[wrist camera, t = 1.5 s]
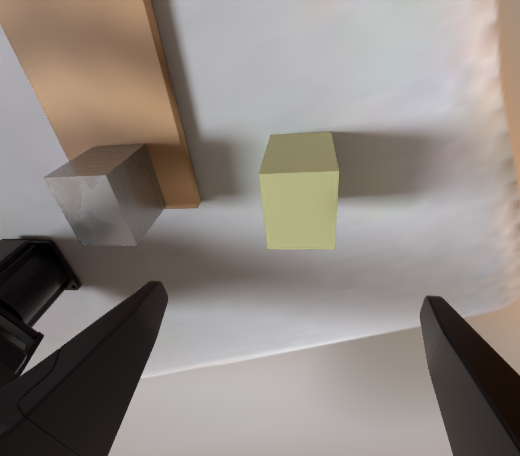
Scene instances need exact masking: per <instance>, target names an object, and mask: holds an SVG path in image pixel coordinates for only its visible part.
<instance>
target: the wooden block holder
mask: <svg viewBox="0 0 520 456" xmlns="http://www.w3.org/2000/svg"><path fill="white" fill-rule="evenodd" d="M0 24H1V26H2V28H3V30H4V32H5V34H6V36H7V38H8V40H9V42H10V44H11V46H12V48H13V50H14V52H15V54H16V56H17V58H18V60H19V62H20V64H21V66H22V68H23V70H24V72H25V74H26V76H27V78H28V80H29V82H30V84H31V86H32V88H33V90H34V92H35V94H36V96H37V98H38V100H39V102H40V104H41V106H42V108H43V110H44V112H45V114H46V116H47V118H48V120H49V122H50V124H51V126H52V128H53V130H54V132H55V134H56V136H57V138H58V140H59V142H60V144H61V146H62V148H63V150H64V152H65V154H66V156H67V158H68V160H69V161H71V160H73V159H74V158H76V157H77V156H79V155H81V154H82V153H84V152H85V151H87V150H89V149H90V148H92V147H93V146H108V145H125V144H142V143H146V146H147V149H148V152H149V155H150V158H151V161H152V164H153V167H154V170H155V173H156V176H157V179H158V182H159V185H160V188H161V191H162V194H163V197H164V200H165V203H166V207H165V208H164V209H183V208H198V207H199V205H200V203H201V199H200V195H199V191H198V187H197V183H196V179H195V175H194V171H193V167H192V163H191V159H190V155H189V151H188V147H187V143H186V139H185V135H184V131H183V127H182V123H181V119H180V115H179V111H178V107H177V103H176V99H175V95H174V91H173V87H172V83H171V79H170V75H169V71H168V67H167V63H166V59H165V55H164V51H163V47H162V43H161V39H160V35H159V31H158V27H157V23H156V19H155V15H154V11H153V7H152V3H151V0H0Z"/></svg>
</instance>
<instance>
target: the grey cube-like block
mask: <svg viewBox="0 0 520 456" xmlns="http://www.w3.org/2000/svg"><path fill="white" fill-rule="evenodd" d="M43 179H44V180H45V182H46V184H47V186H48V187H49V189H50V191H51V193H52V194H53V196H54V198H55V200H56V201H57V203H58V205H59V206H60V208H61V210H62V212H63V213H64V215H65V217H66V219H67V220H68V222H69V224H70V226H71V227H72V229H73V231H74V233H75V234H76V236H77V238H78V240H79V241H80V243H81V245H82V246H137V245H138V244H139V242H140V241H141V239H142V238H143V237H144V235H145V234H146V233H147V231H148V230H149V229H150V227H151V226H152V224H153V223H154V222H155V220H156V219H157V218H158V216H159V215H160V214H161V212H162V211H163V209H164V208H165V207H166V203H165V200H164V197H163V194H162V191H161V188H160V185H159V182H158V179H157V176H156V173H155V170H154V167H153V164H152V161H151V158H150V155H149V152H148V149H147V146H146V143H142V144H125V145H108V146H93V147H92V148H90V149H89V150H87V151H85V152H84V153H82V154H81V155H79V156H77V157H76V158H74V159H73V160H71V161H69V162H68V163H66V164H65V165H63V166H61V167H60V168H58V169H57V170H55V171H53V172H52V173H50V174H49V175H47V176H45V177H44V178H43Z"/></svg>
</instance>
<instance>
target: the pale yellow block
mask: <svg viewBox="0 0 520 456" xmlns="http://www.w3.org/2000/svg"><path fill="white" fill-rule="evenodd" d="M259 181H260V190H261V198H262V207H263V216H264V225H265V233H266V242H267V249H335V236H336V218H337V201H338V183H339V168H338V163H337V158H336V153H335V148H334V143H333V138H332V133H331V132H315V133H298V134H282V135H270V138H269V141H268V145H267V148H266V151H265V155H264V158H263V162H262V165H261V168H260V172H259Z"/></svg>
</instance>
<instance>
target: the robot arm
mask: <svg viewBox="0 0 520 456" xmlns="http://www.w3.org/2000/svg"><path fill="white" fill-rule="evenodd" d="M80 287H81V284H80V283H79V281H78V280H77V278H76V277H75V275H74V273H73V272H72V270H71V269H70V267H69V266H68V264H67V263H66V261H65V259H64V258H63V256H62V255H61V253H60V252H59V250H58V248H57V247H56V245H55V244H54V243H53V242H52V241H49V240H0V456H108V454H109V451H110V449H111V447H112V444H113V442H114V439H115V436H116V435H117V432H118V430H119V428H120V425H121V423H122V420H123V418H124V416H125V413H126V411H127V408H128V406H129V404H130V401H131V399H132V396H133V394H134V392H135V389H136V387H137V384H138V382H139V380H140V377H141V375H142V373H143V370H144V368H145V365H146V363H147V361H148V358H149V356H150V353H151V351H152V349H153V346H154V344H155V341H156V339H157V336H158V333H159V329H160V326H161V323H162V319H163V316H164V313H165V309H166V306H167V303H168V295H167V293H166V290H165V288H164V286H163V284H162V282H160V281H149V282H147V283H146V284H145V285H143V286H142V287H141V288H139V289H138V290H137V291H135V292H134V293H133V294H131V295H130V296H129V297H127V298H126V299H125V300H123V301H122V302H121V303H119V304H118V305H117V306H115V307H114V308H113V309H111V310H110V311H109V312H107V313H106V314H105V315H103V316H102V317H101V318H99V319H98V320H96V321H95V322H94V323H92V324H91V325H90V326H88V327H87V328H86V329H84V330H83V331H82V332H80V333H79V334H78V335H76V336H75V337H74V338H72V339H71V340H70V341H68V342H67V343H66V344H64V345H63V346H62V347H61V348H60V349H58V350H56V351H55V352H54V353H52V354H51V355H49V356H48V357H47V358H45V359H44V360H43V361H41V362H40V363H38V364H37V365H36V366H34V367H33V368H32V369H30V370H29V371H27V372H26V373H24V374H23V375H21V373H22V372H23V370H24V369H25V367H26V365H27V364H28V362H29V360H30V359H31V357H32V355H33V354H34V352H35V350H36V349H37V347H38V345H39V344H40V342H41V340H42V339H43V337H44V335H43V334H42V333H40V332H37V331H36V330H34V329H33V328H32V327H33V325H34V324H35V323H36V322H37V321H38V320H39V319H40V317H41V316H42V315H43V314H44V313H45V312H46V311H47V309H48V308H49V307H50V306H51V305H52V304H53V303H54V301H55V300H56V299H57V298H58V297H59V296H60V295H61V293H62V292H63V291H64V290H78V289H79V288H80ZM420 321H421V327H422V333H423V339H424V345H425V352H426V358H427V363H428V369H429V372H430V376H431V380H432V383H433V387H434V390H435V394H436V397H437V400H438V404H439V408H440V411H441V415H442V418H443V422H444V425H445V428H446V432H447V435H448V439H449V442H450V446H451V449H452V452H453V456H520V376H519V375H518V373H517V372H516V371H515V370H514V369H513V368H511V366H510V365H509V364H508V363H507V362H506V361H505V360H504V359H503V358H502V357H501V356H500V355H499V354H498V353H497V352H496V351H495V350H494V349H493V348H492V347H491V346H490V345H489V344H488V343H487V342H486V341H485V340H484V339H483V338H482V337H481V336H480V335H479V334H478V333H477V332H476V331H475V330H474V329H473V328H472V327H471V326H470V325H469V324H468V323H467V322H466V321H465V320H464V319H463V318H462V317H461V316H460V315H459V314H458V313H457V312H456V311H455V310H454V309H453V308H452V307H451V306H450V305H449V304H448V303H447V302H446V301H445V300H444V299H443V298H442V297H440V296H426V297H425V299H424V302H423V305H422V308H421V312H420ZM20 375H21V376H20ZM19 376H20V377H19Z"/></svg>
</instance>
